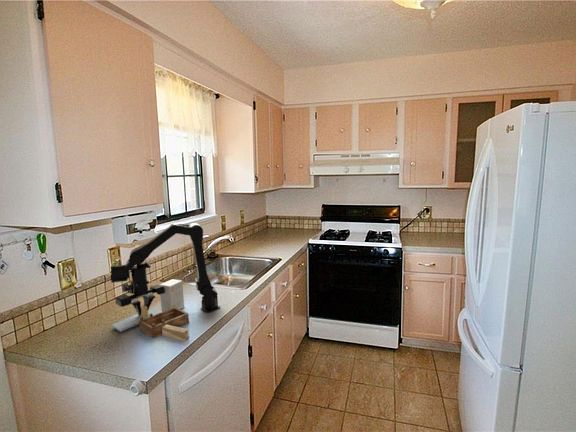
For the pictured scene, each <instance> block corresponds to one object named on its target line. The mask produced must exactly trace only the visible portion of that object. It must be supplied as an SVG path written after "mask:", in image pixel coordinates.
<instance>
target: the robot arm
mask: <svg viewBox="0 0 576 432" xmlns="http://www.w3.org/2000/svg"><path fill="white" fill-rule="evenodd" d="M177 234H178V235H184V236H189V237H190V241H191V243H192V245H193V252H194V258H195V264H196V270H197V277H195V278H194V281H195V288H196V291H198V292H199V294H200V295H202V296H201V307H200V310H202V311H204V312H207V313H212V312H213V311H216V310H218V309H220V308H221V305H219V304H218V303H219V300H218V292H217V290H216V288H215V287H214V286H213V285H212V283H211V280H210V279H209V276H208V272H207V265H206V260H205V254H204V247H203V240H204V229H203V227H202V226H201V225H200V224H199V223H198V222H194V223H190V224H187V223H175V222H174V223H173V222H172V223H171V224H170V225H169V226H168V227H167V228H166V229H164V230H163V231H161V232H160V233H159V234H157V235H156V236H155V237H153V238H152V239H151V240H150V239H149V241H148V242H146V243H144V244H141V245H139V246H137V247H135V248H133V249H132V250H130V254H129V258H128V260H127V261H126V263H125V264H119V265H111V266H110V281H111V284H113V283H120V282H121V283H122V282H127V281H128V280H129V279H130V278H131V281H130V284H128V283H124V284H122V286H121V287H122V292H123V293H126V292H127V294H131V295H127V294H121V295H118V296H116V297H115V305H116V306H119V307H121V308H122V307H124V308H125V307H127V306H129V305H132V306H133V308H134V309H135V311H136V313H137V314H138V315H139V316H141V301H139V298H143V305H145V306H147V310H148V311H149V309H150V307H151V305H152V303H153V300H154V299H155V298H156V296H155V294H157V295H159V296H160V294H163V293H165V288H164V287H163V286H160V284H156V285H155V284H154V285H151V286H150V287H149V285H148V284H149V283H150V281H149V280H148V276H147V275H148V274H147V273H148V272H147V269H150V268H151V267H152V265H151V263H149V262H148V261H146V260H147V259H148V258H149V256H150V255H151V254H153V252H154V251H155V250H156V249H157V248H159V247H161V246H162V245H163V244H164V243H166V242H167V241H168V240H170V239H171V238H172V237H174V236H175V235H177ZM130 271H131V272H130Z"/></svg>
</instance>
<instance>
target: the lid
mask: <svg viewBox="0 0 576 432" xmlns="http://www.w3.org/2000/svg"><path fill="white" fill-rule="evenodd" d="M140 304H141V303H140ZM150 314H151V313H149V310H147V306H145V305H144V303H143V304H141V316H139V315H138V313H137V314H135V315H132V316H129V317H127V318H124V319H122V320H119V321H118V322H115V323H113V324H111V327H112V328H114V329H115V330H117V331H118V332H121V333H122V332H123V331H126V330H128V329H130V328H133V327H134V326H136V325H137V326H138V325H139V321H140V317H143V319H146V318H148V317H150Z"/></svg>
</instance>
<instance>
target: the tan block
mask: <svg viewBox="0 0 576 432" xmlns="http://www.w3.org/2000/svg"><path fill="white" fill-rule="evenodd" d="M161 336H163V337H168V338H171V339H175V340H180V341H183V340H184V342H185V341H187V340H188V339H189V338H190V333H189V329H187V328H182V327H181V326H180V327H175V326H171V325H165V326H163V327H162V334H161ZM186 339H187V340H186Z"/></svg>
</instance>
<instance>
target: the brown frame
mask: <svg viewBox="0 0 576 432" xmlns="http://www.w3.org/2000/svg"><path fill="white" fill-rule="evenodd" d="M149 314H150V317H148V318H146V319H143V317H140V321H139V324H138V325H139V331H140V332H142V333H143V334H145V335H147V336H148V337H149V338H152V339H154V338H156V337H159V336H162V327H163V326H165V325H171V326H175V327H180V328H181V326H184V325H186V324H189V323H190V320H189V319H190V318H189V313H188V312H186V311H184V310H182V309H177V308H172V309H170V310H167V311H164V312H162V311H161V312H159V313H157V314H153V313H152V312H151V313H149Z"/></svg>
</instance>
